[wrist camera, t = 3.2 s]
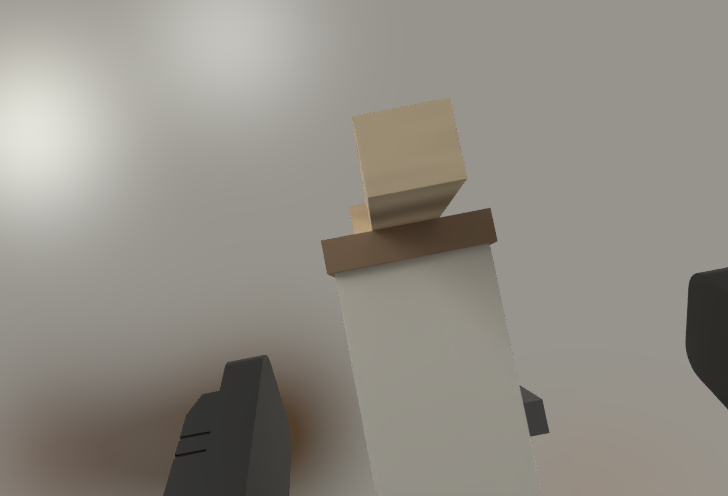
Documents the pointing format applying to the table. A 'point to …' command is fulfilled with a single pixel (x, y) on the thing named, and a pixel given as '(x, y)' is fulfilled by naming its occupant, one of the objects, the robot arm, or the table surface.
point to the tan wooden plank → (407, 164)
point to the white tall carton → (435, 360)
